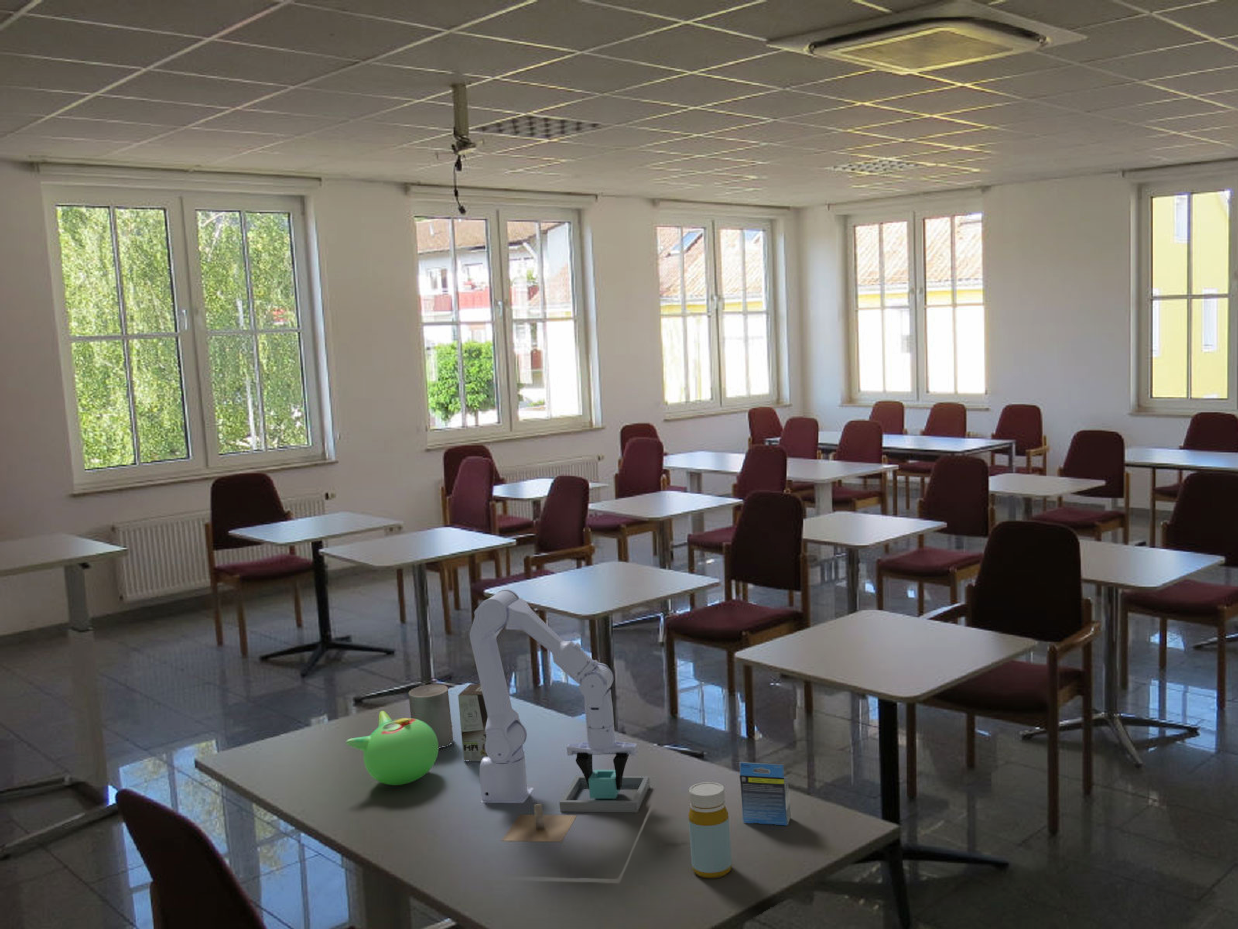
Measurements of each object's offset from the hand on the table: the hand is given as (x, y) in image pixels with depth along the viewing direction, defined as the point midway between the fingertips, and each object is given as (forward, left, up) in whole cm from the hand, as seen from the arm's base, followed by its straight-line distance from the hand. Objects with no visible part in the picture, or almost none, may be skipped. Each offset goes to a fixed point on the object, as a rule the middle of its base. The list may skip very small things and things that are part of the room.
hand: (605, 788), depth 235 cm
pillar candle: (-51, +33, -3) cm, 61 cm away
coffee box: (-36, +26, -3) cm, 45 cm away
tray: (0, 0, -3) cm, 3 cm away
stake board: (-10, -15, -3) cm, 18 cm away
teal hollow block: (0, 0, -1) cm, 1 cm away
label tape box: (+34, -9, -3) cm, 35 cm away
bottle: (+26, -30, -3) cm, 40 cm away
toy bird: (-50, +10, -3) cm, 51 cm away
